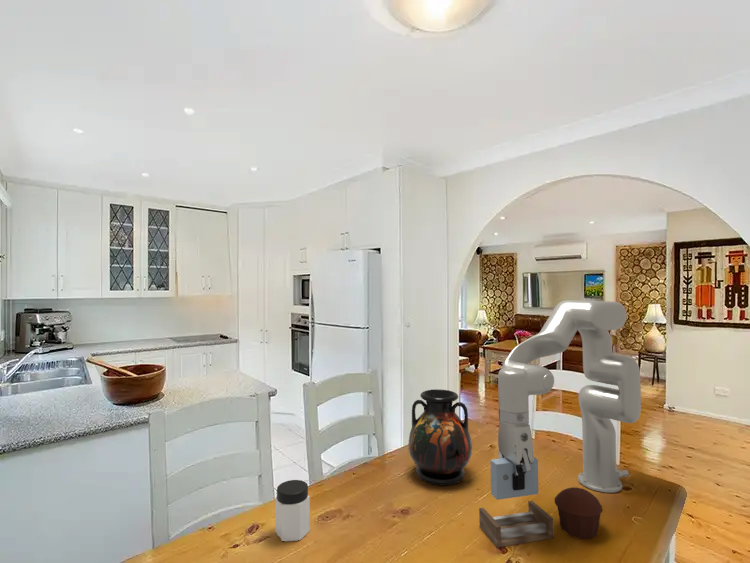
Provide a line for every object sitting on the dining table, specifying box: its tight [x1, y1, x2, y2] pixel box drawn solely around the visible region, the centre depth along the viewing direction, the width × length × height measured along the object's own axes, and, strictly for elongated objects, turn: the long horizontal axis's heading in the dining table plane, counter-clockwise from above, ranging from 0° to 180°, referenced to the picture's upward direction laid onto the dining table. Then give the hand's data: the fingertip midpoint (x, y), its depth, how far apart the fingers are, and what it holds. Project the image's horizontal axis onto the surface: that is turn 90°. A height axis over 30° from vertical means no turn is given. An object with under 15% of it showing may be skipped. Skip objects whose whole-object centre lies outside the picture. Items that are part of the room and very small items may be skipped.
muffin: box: [554, 487, 604, 540], centre depth 108 cm, size 12×11×10 cm
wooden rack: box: [478, 500, 554, 548], centre depth 107 cm, size 16×9×5 cm, turn 103°
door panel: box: [490, 456, 539, 501], centre depth 107 cm, size 12×3×9 cm, turn 103°
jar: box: [274, 479, 311, 542], centre depth 108 cm, size 9×8×12 cm
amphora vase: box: [407, 388, 473, 486], centre depth 140 cm, size 22×22×28 cm
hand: (514, 485), depth 107 cm, fingers closed on door panel, 3 cm apart
